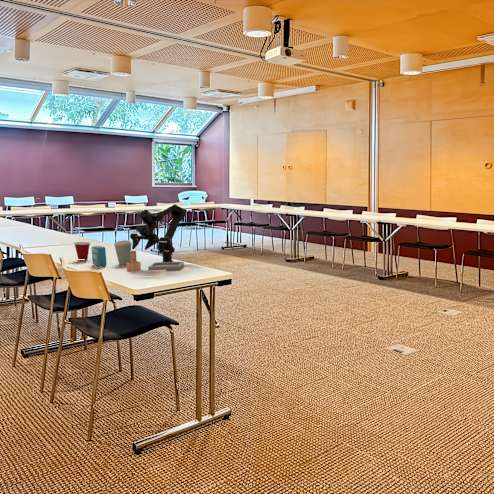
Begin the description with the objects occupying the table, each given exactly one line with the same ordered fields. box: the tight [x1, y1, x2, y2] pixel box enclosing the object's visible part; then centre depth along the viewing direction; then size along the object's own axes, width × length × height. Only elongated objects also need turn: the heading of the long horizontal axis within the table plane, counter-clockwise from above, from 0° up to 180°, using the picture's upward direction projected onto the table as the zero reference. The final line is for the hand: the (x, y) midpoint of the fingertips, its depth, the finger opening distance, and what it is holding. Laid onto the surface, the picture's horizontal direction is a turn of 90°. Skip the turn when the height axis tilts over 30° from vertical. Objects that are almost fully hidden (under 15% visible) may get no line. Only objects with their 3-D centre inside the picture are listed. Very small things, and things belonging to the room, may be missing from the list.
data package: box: [91, 245, 107, 267], centre depth 341 cm, size 12×4×12 cm, turn 37°
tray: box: [147, 261, 185, 272], centre depth 322 cm, size 16×18×2 cm
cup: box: [125, 261, 142, 272], centre depth 317 cm, size 8×8×5 cm
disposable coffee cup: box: [114, 240, 132, 266], centre depth 339 cm, size 11×11×15 cm
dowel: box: [130, 249, 137, 263], centre depth 316 cm, size 4×4×11 cm
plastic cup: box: [73, 241, 91, 260], centre depth 367 cm, size 11×11×12 cm
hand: (138, 249), depth 320 cm, fingers open, 9 cm apart
